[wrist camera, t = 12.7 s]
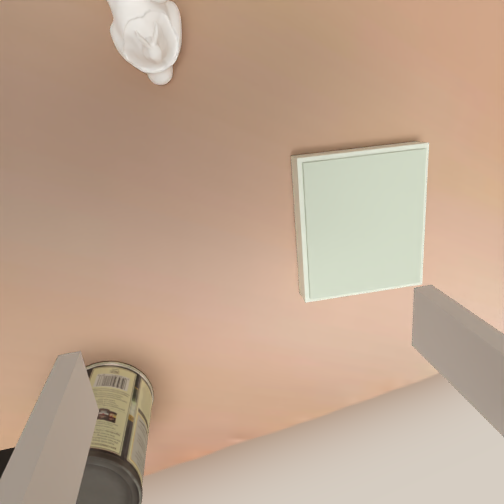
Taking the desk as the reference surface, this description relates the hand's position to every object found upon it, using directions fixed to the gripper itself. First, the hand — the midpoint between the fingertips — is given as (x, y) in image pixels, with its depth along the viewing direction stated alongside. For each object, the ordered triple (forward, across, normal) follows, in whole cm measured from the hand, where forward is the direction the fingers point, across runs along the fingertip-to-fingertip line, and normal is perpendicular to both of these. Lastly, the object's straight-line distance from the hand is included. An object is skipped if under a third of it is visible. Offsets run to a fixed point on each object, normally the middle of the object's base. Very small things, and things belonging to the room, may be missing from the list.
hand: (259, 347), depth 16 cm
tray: (+28, +16, -5) cm, 33 cm away
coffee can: (+29, -15, -23) cm, 40 cm away
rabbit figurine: (+29, -2, +17) cm, 34 cm away
